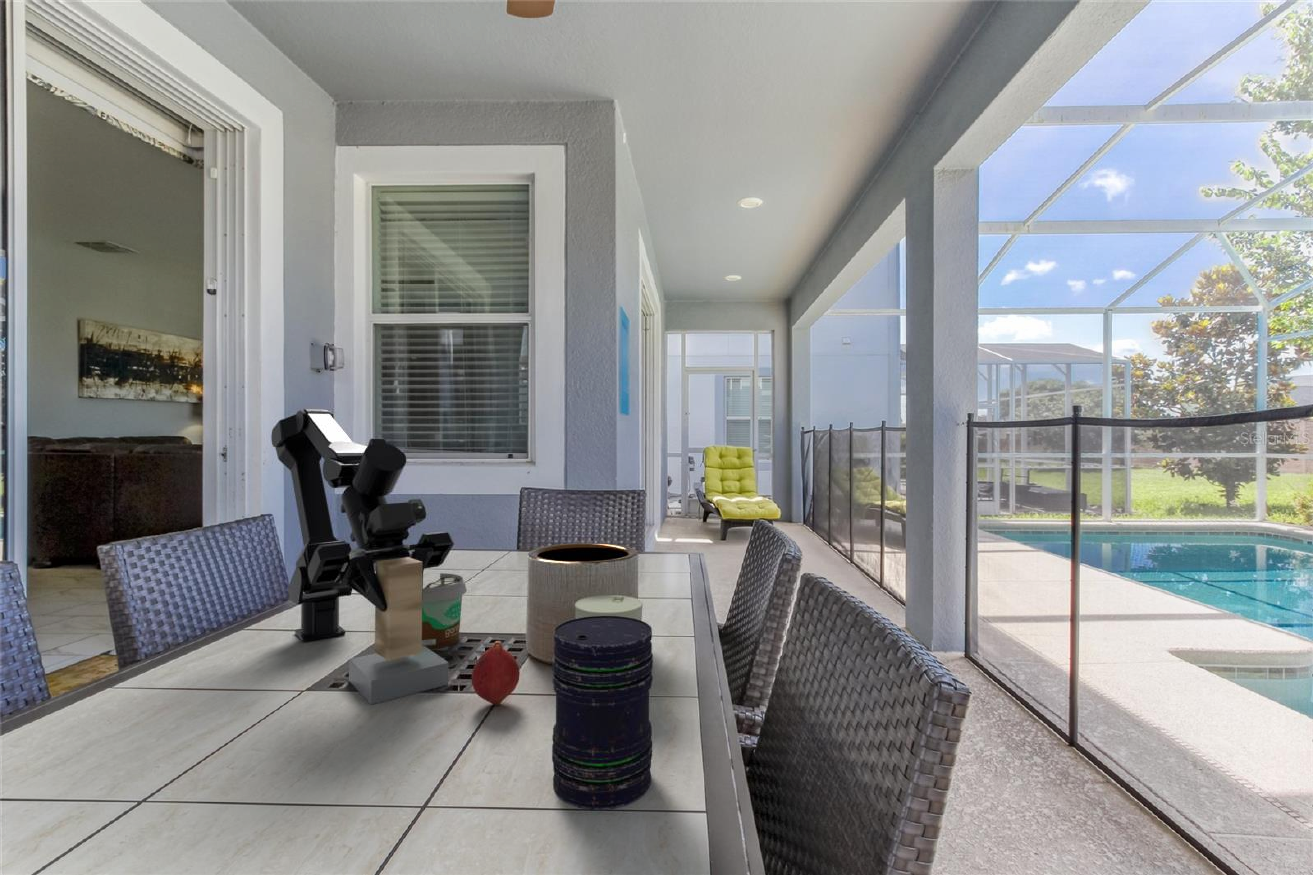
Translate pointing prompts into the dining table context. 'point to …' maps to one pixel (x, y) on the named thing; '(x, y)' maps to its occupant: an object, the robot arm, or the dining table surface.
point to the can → (609, 606)
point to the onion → (495, 674)
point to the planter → (572, 586)
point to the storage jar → (602, 711)
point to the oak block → (399, 608)
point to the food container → (442, 611)
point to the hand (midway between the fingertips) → (402, 606)
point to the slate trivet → (397, 675)
